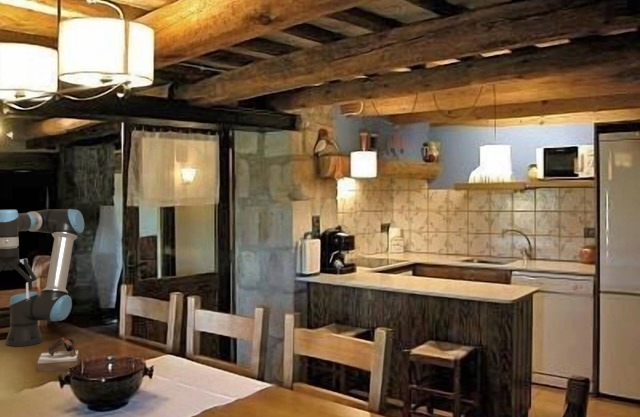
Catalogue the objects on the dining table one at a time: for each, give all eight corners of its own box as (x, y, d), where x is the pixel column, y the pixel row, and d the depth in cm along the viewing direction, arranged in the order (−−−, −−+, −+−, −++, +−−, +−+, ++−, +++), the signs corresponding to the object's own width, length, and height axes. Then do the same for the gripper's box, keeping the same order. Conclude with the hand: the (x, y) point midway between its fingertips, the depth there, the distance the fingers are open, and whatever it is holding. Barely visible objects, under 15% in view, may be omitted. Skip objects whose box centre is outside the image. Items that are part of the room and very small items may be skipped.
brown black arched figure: (72, 360, 241) (60, 343, 239) (52, 369, 243) (40, 353, 241) (84, 345, 253) (73, 329, 251) (66, 354, 254) (55, 338, 252)
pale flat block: (42, 362, 251) (42, 352, 251) (78, 359, 255) (78, 350, 255) (37, 372, 237) (37, 361, 237) (76, 368, 242) (76, 358, 242)
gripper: (-29, 249, 241) (-27, 302, 242) (40, 247, 248) (41, 298, 249) (-24, 247, 248) (-23, 299, 249) (42, 245, 256) (44, 295, 256)
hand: (9, 299), depth 249 cm, fingers open, 13 cm apart
